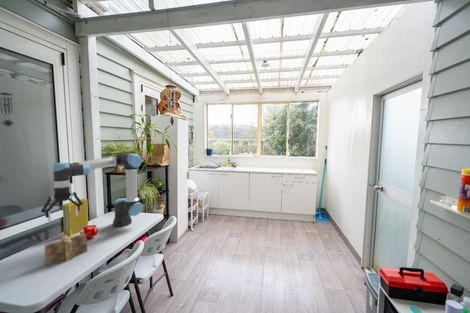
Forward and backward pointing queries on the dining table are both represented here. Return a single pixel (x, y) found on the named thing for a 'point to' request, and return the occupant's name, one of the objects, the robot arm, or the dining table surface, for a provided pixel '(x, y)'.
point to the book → (74, 217)
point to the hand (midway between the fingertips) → (63, 218)
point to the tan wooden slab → (67, 247)
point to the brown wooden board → (57, 253)
